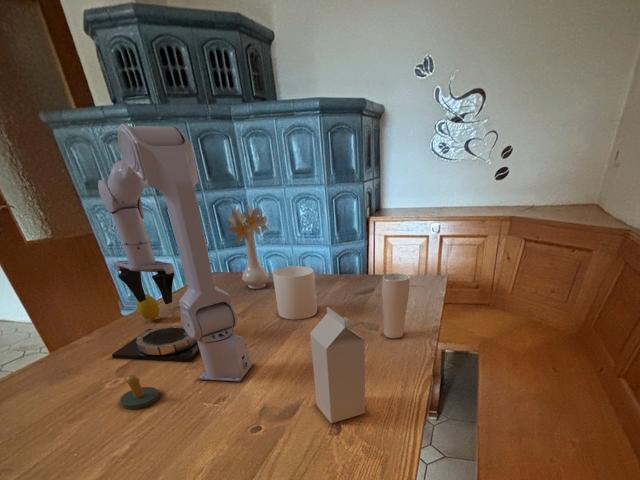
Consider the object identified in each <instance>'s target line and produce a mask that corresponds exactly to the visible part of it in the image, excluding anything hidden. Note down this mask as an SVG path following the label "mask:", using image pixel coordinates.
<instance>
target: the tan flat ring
mask: <svg viewBox="0 0 640 480" xmlns="http://www.w3.org/2000/svg"><path fill="white" fill-rule="evenodd" d="M151 329H152V330H149V331H146V330H145V331H146V332H145V331H144V333H143V332H142V333H143V334H142V333H140V334H139V335H140V336H139V335H137V337H138V338H137V341H136V343H137V346H138V348H139V351H141V352H143V353H145V354H150V355H161V354H162V355H164V354H170V353H176V352H179V351H182V350H184V349H187V348H189V347H191V346H192V345H193V344H194V343H195V342H196V341H197V340H195V339H193V338H191V337H190V336H189V335H188V334H187V332H186V331H185V329H184V327H183V325H177V324H175V325H165V326H159V327H156V328H151ZM167 335H186V337H185V338H184V339H182V340H179V341H177V342H174V343H169V344H163V345H149V344H147V343H148V342H150V341H151V340H153V339H156V338H159V337H162V336H167Z"/></svg>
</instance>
